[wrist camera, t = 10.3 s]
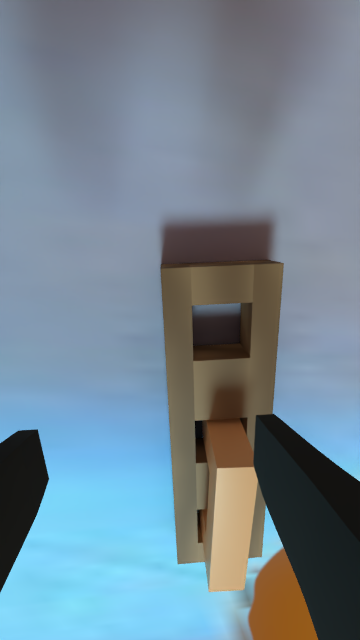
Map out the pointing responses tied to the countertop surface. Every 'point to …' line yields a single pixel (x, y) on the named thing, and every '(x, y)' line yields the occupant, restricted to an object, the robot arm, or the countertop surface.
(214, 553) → the tan rectangular block
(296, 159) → the countertop surface
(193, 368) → the wooden board with holes
